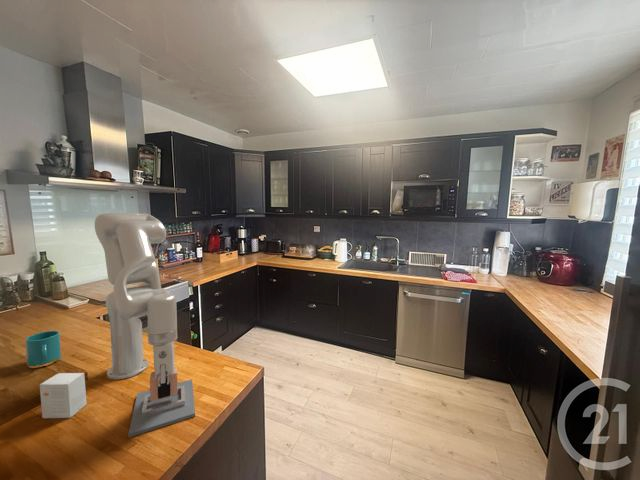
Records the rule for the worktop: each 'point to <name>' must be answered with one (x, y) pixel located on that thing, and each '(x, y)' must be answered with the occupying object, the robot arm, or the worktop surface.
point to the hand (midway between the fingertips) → (164, 391)
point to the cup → (43, 348)
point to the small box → (63, 395)
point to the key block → (155, 385)
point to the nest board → (162, 409)
